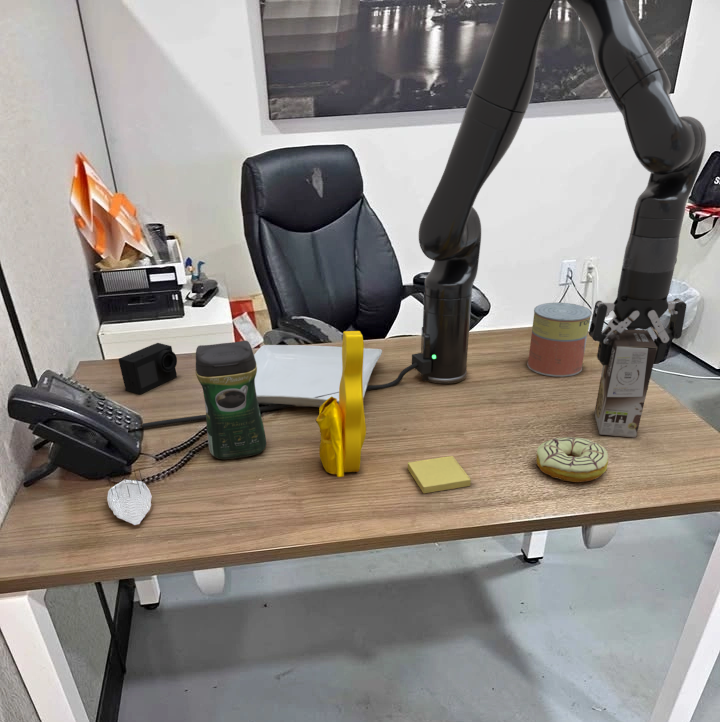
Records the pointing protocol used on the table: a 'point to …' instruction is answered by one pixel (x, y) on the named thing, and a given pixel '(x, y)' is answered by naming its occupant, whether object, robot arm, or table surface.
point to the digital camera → (148, 368)
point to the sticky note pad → (438, 474)
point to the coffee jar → (230, 399)
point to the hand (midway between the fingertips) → (628, 363)
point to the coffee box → (625, 383)
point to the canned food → (558, 339)
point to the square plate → (303, 373)
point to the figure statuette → (344, 413)
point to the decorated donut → (572, 459)
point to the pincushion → (130, 500)
